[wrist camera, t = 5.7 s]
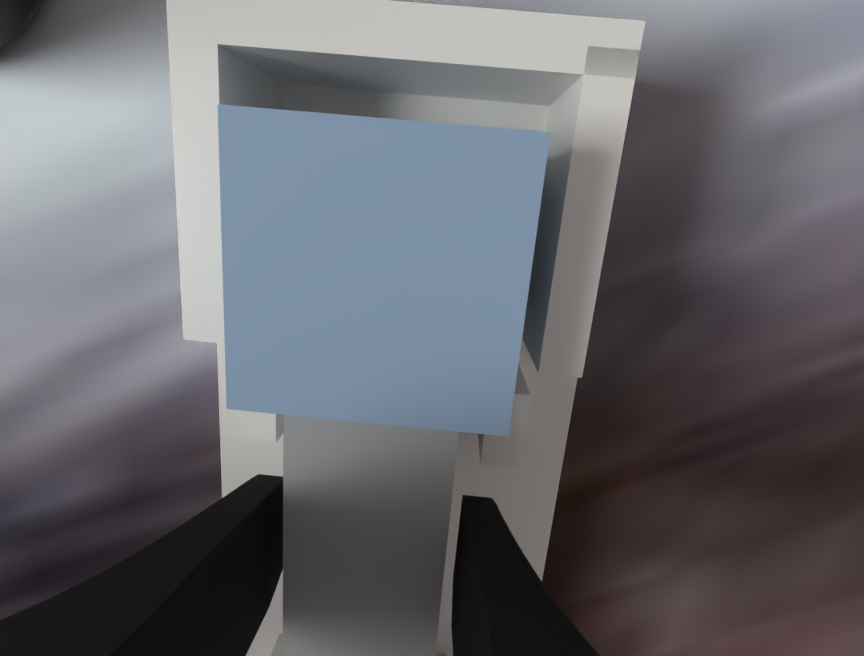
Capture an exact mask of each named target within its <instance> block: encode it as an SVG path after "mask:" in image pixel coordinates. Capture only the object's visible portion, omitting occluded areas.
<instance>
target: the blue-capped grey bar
mask: <svg viewBox="0 0 864 656" xmlns="http://www.w3.org/2000/svg"><path fill="white" fill-rule="evenodd" d="M550 133H551V132H543V131H531V130H519V129H507V128H495V127H483V126H471V125H459V124H447V123H435V122H424V121H412V120H400V119H388V118H376V117H364V116H352V115H340V114H328V113H316V112H304V111H292V110H281V109H269V108H257V107H245V106H233V105H221V104H218V137H219V171H220V205H221V238H222V272H223V305H224V339H225V373H226V406H227V409H230V410H241V411H251V412H261V413H271V414H282V415H283V656H435V651H436V642H437V632H438V623H439V614H440V605H441V596H442V586H443V577H444V568H445V559H446V549H447V540H448V531H449V522H450V513H451V503H452V494H453V485H454V476H455V466H456V457H457V448H458V439H459V432H466V433H477V434H487V435H497V436H507V437H509V430H510V422H511V415H512V408H513V401H514V394H515V386H516V379H517V372H518V365H519V357H520V350H521V343H522V336H523V328H524V321H525V314H526V307H527V299H528V292H529V285H530V278H531V271H532V263H533V256H534V249H535V242H536V234H537V227H538V220H539V213H540V205H541V198H542V191H543V184H544V176H545V169H546V162H547V155H548V148H549V140H550Z"/></svg>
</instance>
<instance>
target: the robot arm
mask: <svg viewBox="0 0 864 656" xmlns="http://www.w3.org/2000/svg"><path fill="white" fill-rule="evenodd" d="M282 570H283V477H282V476H272V475H263V474H258V475H256V476H254V477H253V478H251V479H250V480H248V481H247V482H245V483H244V484H242V485H241V486H239V487H238V488H236V489H235V490H233V491H232V492H230V493H229V494H227V495H226V496H225V497H223V498H222V499H220V500H219V501H217V502H216V503H214V504H213V505H211V506H210V507H208V508H207V509H205V510H204V511H202V512H201V513H199V514H198V515H196V516H195V517H193V518H192V519H190V520H189V521H187V522H186V523H184V524H183V525H181V526H180V527H178V528H177V529H175V530H173V531H172V532H170V533H168V534H167V535H165V536H163V537H162V538H160V539H159V540H157V541H155V542H154V543H152V544H150V545H149V546H147V547H145V548H144V549H142V550H140V551H139V552H137V553H136V554H134V555H132V556H131V557H129V558H127V559H125V560H124V561H122V562H120V563H118V564H117V565H115V566H113V567H111V568H109V569H107V570H106V571H104V572H102V573H100V574H98V575H96V576H94V577H92V578H90V579H88V580H86V581H84V582H82V583H81V584H79V585H77V586H75V587H73V588H71V589H69V590H67V591H65V592H63V593H61V594H59V595H57V596H54V597H52V598H50V599H48V600H46V601H44V602H41V603H39V604H37V605H35V606H32V607H30V608H28V609H26V610H23V611H21V612H19V613H17V614H14V615H12V616H10V617H8V618H5V619H3V620H1V621H0V656H246V654H247V652H248V650H249V648H250V646H251V644H252V642H253V640H254V638H255V636H256V634H257V632H258V630H259V628H260V625H261V623H262V621H263V619H264V617H265V615H266V613H267V611H268V609H269V606H270V604H271V601H272V598H273V595H274V593H275V590H276V587H277V584H278V581H279V579H280V576H281V573H282ZM451 629H452V645H453V656H599V654H598V653H597V652H596V651H595V650H594V649H593V647H592V646H591V645H590V644H589V643H588V642H587V640H586V639H585V638H584V637H583V636H582V634H581V633H580V632H579V631H578V630H577V628H576V627H575V626H574V625H573V623H572V622H571V621H570V619H569V618H568V617H567V616H566V614H565V613H564V612H563V610H562V609H561V608H560V606H559V605H558V604H557V602H556V601H555V599H554V598H553V597H552V595H551V594H550V593H549V591H548V590H547V588H546V587H545V585H544V584H543V582H542V581H541V580H540V578H539V577H538V575H537V574H536V572H535V570H534V569H533V567H532V566H531V564H530V563H529V561H528V559H527V558H526V556H525V555H524V553H523V552H522V550H521V548H520V547H519V545H518V543H517V542H516V540H515V538H514V536H513V535H512V533H511V531H510V529H509V527H508V526H507V524H506V522H505V520H504V518H503V516H502V514H501V512H500V510H499V508H498V506H497V504H496V502H495V501H494V500H493V499H492V498H489V497H479V496H469V495H462V503H461V512H460V521H459V529H458V538H457V546H456V555H455V563H454V572H453V590H452V621H451Z"/></svg>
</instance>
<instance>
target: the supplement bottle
mask: <svg viewBox="0 0 864 656" xmlns="http://www.w3.org/2000/svg"><path fill="white" fill-rule="evenodd" d="M42 1H43V0H0V47H1V46H2V45H4V44H5V43H6V42H8V41H9V40H11V39H12V38H13V37H14V36H15V35H16V34H17V33H18V32H20V31H21V30H22V29H23V28H24V27H25V25H26V24H27V23H28V22H29V21H30V19H31V18H32V17H33V15H34V14H35V12H36V11H37V9H38V8H39V6H40V5H41V3H42Z"/></svg>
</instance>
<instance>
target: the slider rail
mask: <svg viewBox="0 0 864 656" xmlns="http://www.w3.org/2000/svg"><path fill="white" fill-rule="evenodd" d="M166 10H167V30H168V49H169V69H170V88H171V108H172V127H173V147H174V166H175V186H176V205H177V225H178V244H179V264H180V283H181V303H182V322H183V340H193V341H203V342H214V343H217V355H218V386H219V417H220V448H221V479H222V498H223V497H225V496H226V495H227V494H229V493H230V492H232V491H233V490H235V489H236V488H238V487H239V486H241V485H242V484H244V483H245V482H247V481H248V480H250V479H251V478H253V477H254V476H256V475H258V474H263V475H272V476H282V477H283V415H282V414H271V413H261V412H251V411H241V410H230V409H227V406H226V373H225V339H224V305H223V272H222V238H221V205H220V171H219V137H218V104H221V105H233V106H245V107H257V108H269V109H281V110H292V111H304V112H316V113H328V114H340V115H352V116H364V117H376V118H388V119H400V120H412V121H424V122H435V123H447V124H459V125H471V126H483V127H495V128H507V129H519V130H531V131H543V132H551V133H550V140H549V148H548V155H547V162H546V169H545V176H544V184H543V191H542V198H541V205H540V213H539V220H538V227H537V234H536V242H535V249H534V256H533V263H532V271H531V278H530V285H529V292H528V299H527V307H526V314H525V321H524V328H523V336H522V343H521V350H520V357H519V365H518V372H517V379H516V386H515V394H514V401H513V408H512V415H511V422H510V430H509V437H507V436H497V435H487V434H477V433H466V432H459V439H458V448H457V457H456V466H455V476H454V485H453V494H452V503H451V513H450V522H449V531H448V540H447V549H446V559H445V568H444V577H443V586H442V596H441V605H440V614H439V623H438V632H437V642H436V651H435V656H453V645H452V629H451V621H452V590H453V572H454V563H455V555H456V546H457V538H458V529H459V521H460V512H461V503H462V495H469V496H479V497H489V498H492V499H493V500H494V501H495V502H496V504H497V506H498V508H499V510H500V512H501V514H502V516H503V518H504V520H505V522H506V524H507V526H508V527H509V529H510V531H511V533H512V535H513V536H514V538H515V540H516V542H517V543H518V545H519V547H520V548H521V550H522V552H523V553H524V555H525V556H526V558H527V559H528V561H529V563H530V564H531V566H532V567H533V569H534V570H535V572H536V574H537V575H538V577H539V578H540V580H541V581H542V578H543V572H544V567H545V561H546V555H547V550H548V544H549V538H550V533H551V527H552V521H553V515H554V510H555V504H556V498H557V493H558V487H559V481H560V475H561V470H562V464H563V458H564V453H565V447H566V441H567V435H568V430H569V424H570V418H571V413H572V407H573V401H574V395H575V390H576V384H577V378H582V375H583V370H584V364H585V358H586V353H587V347H588V342H589V336H590V330H591V325H592V319H593V313H594V308H595V302H596V296H597V291H598V285H599V280H600V274H601V268H602V263H603V257H604V251H605V246H606V240H607V235H608V229H609V223H610V218H611V212H612V206H613V201H614V195H615V190H616V184H617V178H618V173H619V167H620V161H621V156H622V150H623V145H624V139H625V133H626V128H627V122H628V116H629V111H630V105H631V100H632V94H633V88H634V83H635V77H636V71H637V66H638V60H639V55H640V49H641V43H642V38H643V32H644V26H645V21H640V20H627V19H615V18H602V17H590V16H578V15H565V14H553V13H540V12H528V11H516V10H503V9H491V8H478V7H466V6H453V5H441V4H429V3H416V2H404V1H391V0H166ZM246 656H283V570H282V573H281V576H280V579H279V581H278V584H277V587H276V590H275V593H274V595H273V598H272V601H271V604H270V606H269V609H268V611H267V613H266V615H265V617H264V619H263V621H262V623H261V625H260V628H259V630H258V632H257V634H256V636H255V638H254V640H253V642H252V644H251V646H250V648H249V650H248V652H247V654H246Z"/></svg>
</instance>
